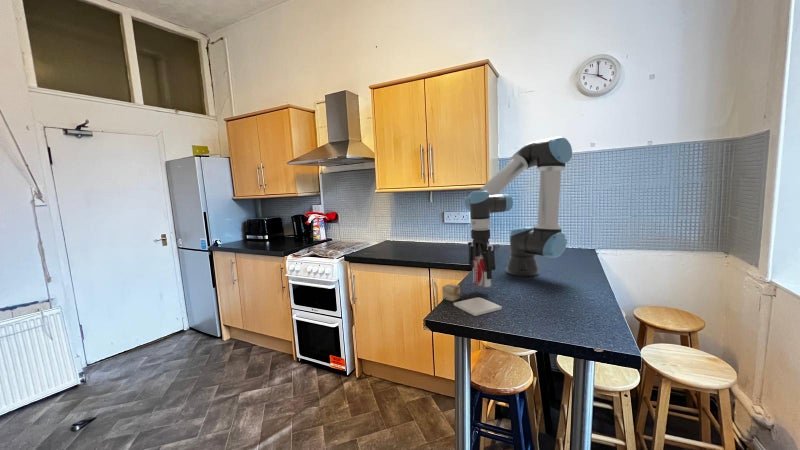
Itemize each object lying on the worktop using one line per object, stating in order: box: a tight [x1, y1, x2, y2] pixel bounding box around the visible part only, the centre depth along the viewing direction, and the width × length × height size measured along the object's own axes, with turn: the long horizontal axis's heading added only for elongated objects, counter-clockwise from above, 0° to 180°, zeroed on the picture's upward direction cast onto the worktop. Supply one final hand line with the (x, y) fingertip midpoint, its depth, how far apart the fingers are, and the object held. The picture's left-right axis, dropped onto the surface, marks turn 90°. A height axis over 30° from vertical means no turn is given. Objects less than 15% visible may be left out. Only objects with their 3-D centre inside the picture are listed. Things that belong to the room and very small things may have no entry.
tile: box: [453, 296, 503, 317], centre depth 114 cm, size 12×12×1 cm
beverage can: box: [473, 255, 489, 288], centre depth 130 cm, size 6×6×12 cm
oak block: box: [441, 283, 461, 302], centre depth 125 cm, size 5×5×5 cm
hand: (482, 284), depth 130 cm, fingers closed on beverage can, 6 cm apart
